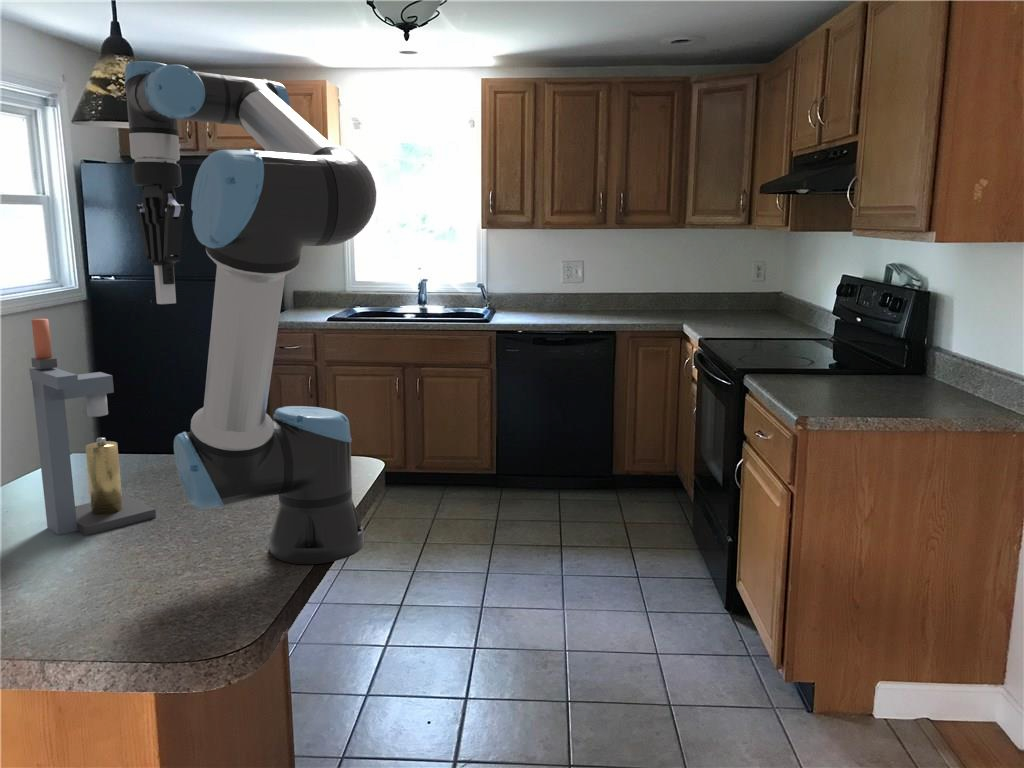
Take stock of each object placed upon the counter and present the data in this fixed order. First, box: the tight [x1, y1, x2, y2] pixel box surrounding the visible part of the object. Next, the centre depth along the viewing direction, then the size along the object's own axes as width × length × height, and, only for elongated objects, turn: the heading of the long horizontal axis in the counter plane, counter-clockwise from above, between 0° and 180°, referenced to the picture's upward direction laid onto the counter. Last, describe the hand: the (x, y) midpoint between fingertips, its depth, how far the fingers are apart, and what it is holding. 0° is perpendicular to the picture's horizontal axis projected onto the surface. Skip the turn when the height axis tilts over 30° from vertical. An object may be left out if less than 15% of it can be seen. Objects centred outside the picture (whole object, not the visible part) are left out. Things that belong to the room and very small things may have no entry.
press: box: [28, 367, 157, 536], centre depth 139 cm, size 15×15×28 cm
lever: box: [30, 318, 58, 369], centre depth 132 cm, size 4×3×8 cm
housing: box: [85, 437, 123, 515], centre depth 142 cm, size 5×5×13 cm
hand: (166, 303), depth 138 cm, fingers closed
